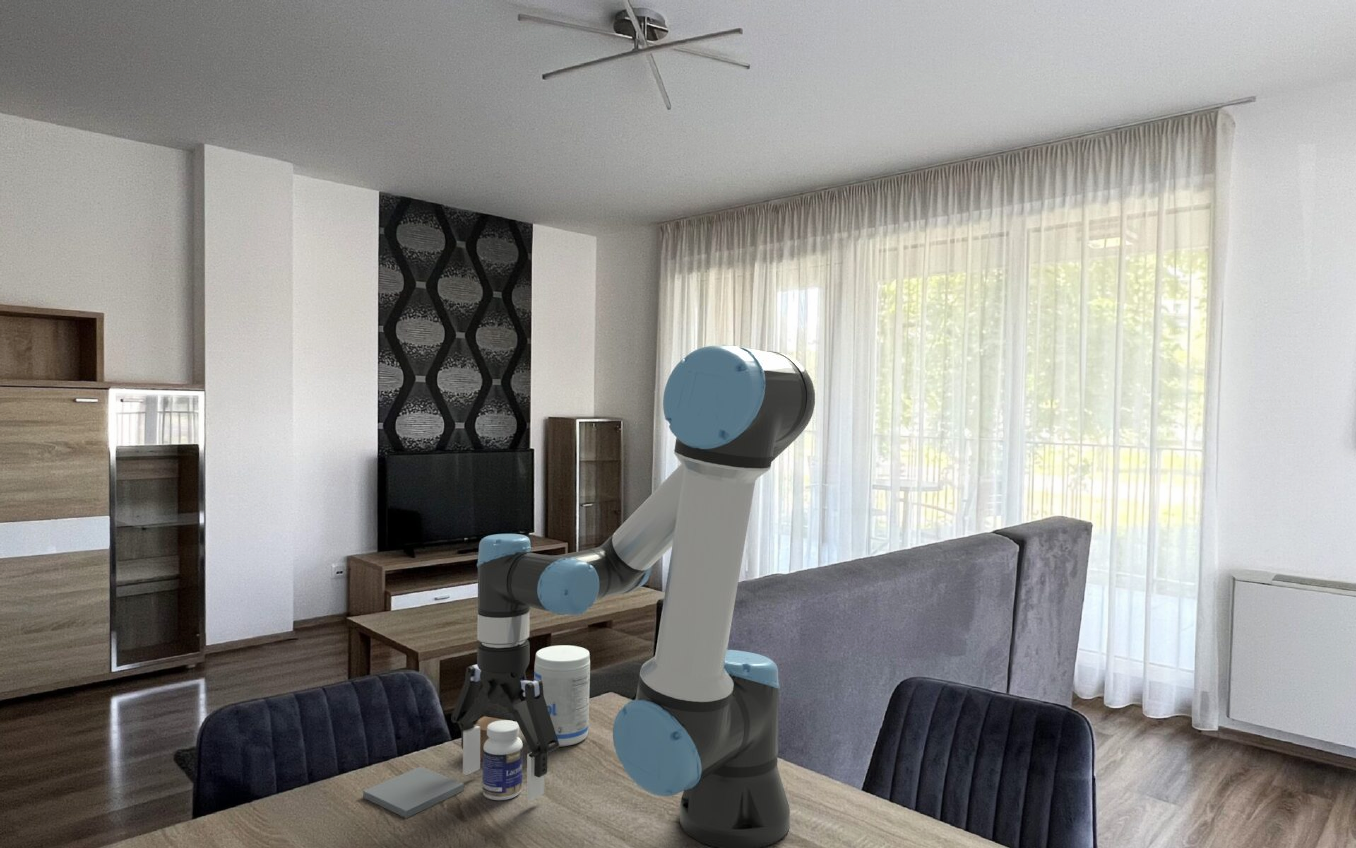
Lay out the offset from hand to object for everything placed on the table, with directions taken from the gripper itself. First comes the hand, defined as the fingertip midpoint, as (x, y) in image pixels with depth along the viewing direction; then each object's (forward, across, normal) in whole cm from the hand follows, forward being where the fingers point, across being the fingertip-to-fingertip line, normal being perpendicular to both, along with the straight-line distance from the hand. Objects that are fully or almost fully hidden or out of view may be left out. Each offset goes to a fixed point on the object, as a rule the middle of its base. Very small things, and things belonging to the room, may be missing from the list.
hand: (502, 784), depth 119 cm
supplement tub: (+2, +7, -20) cm, 21 cm away
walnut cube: (+1, +12, -8) cm, 14 cm away
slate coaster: (+1, +10, +8) cm, 13 cm away
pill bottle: (+2, 0, 0) cm, 2 cm away
